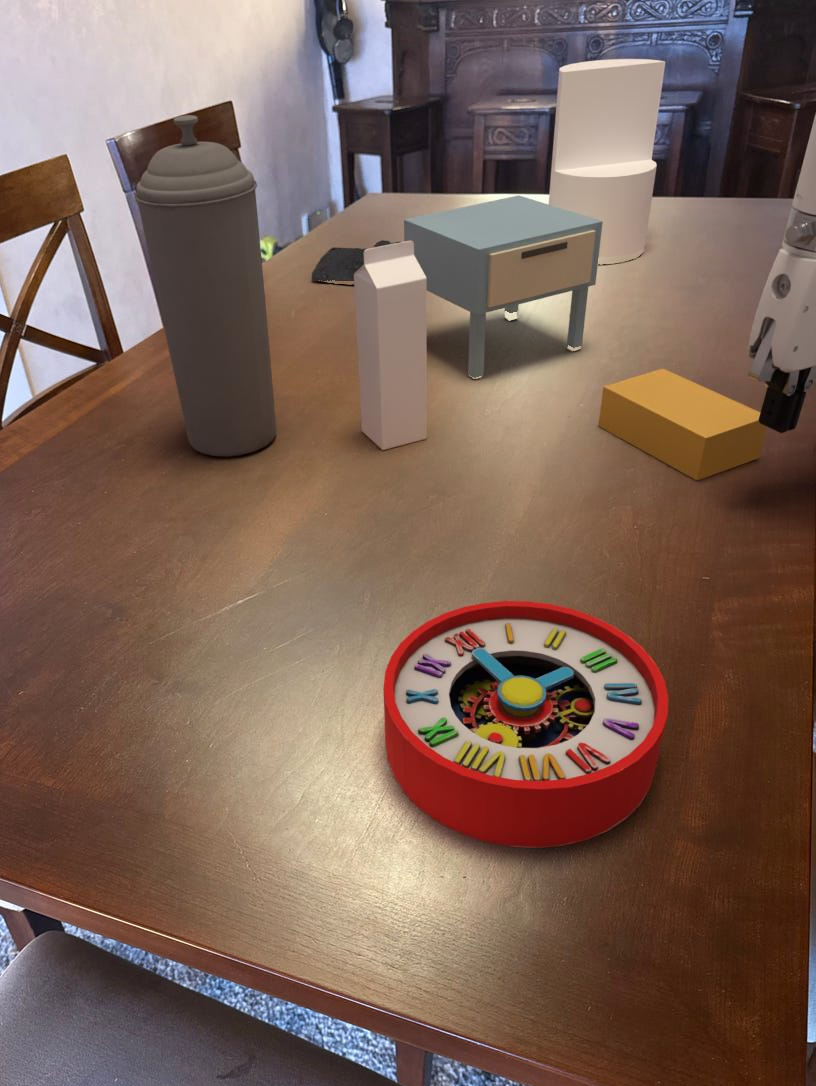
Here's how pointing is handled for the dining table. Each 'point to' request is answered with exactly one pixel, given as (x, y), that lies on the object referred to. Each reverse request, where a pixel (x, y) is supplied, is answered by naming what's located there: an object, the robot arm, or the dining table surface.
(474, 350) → the drawer unit
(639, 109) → the cylinder
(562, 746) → the toy clock
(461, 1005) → the dining table surface
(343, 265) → the dark slate chunk
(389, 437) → the milk
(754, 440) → the yellow rectangular block
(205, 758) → the dining table surface
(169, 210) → the canister
